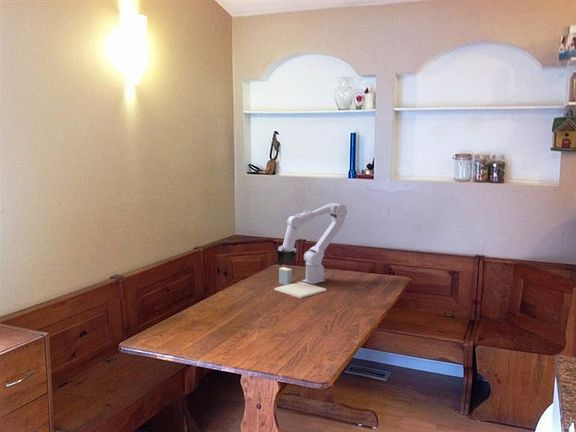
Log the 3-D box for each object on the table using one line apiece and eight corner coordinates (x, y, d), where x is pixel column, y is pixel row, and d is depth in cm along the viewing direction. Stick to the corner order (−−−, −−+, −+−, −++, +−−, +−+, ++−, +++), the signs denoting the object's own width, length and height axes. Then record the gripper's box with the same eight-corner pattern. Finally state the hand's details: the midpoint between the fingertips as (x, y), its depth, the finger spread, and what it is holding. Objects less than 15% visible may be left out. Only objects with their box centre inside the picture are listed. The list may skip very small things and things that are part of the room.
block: (283, 281, 274) (283, 267, 273) (291, 284, 270) (291, 269, 269) (279, 283, 272) (279, 268, 271) (287, 285, 268) (287, 270, 266)
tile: (300, 283, 271) (300, 281, 271) (326, 290, 259) (326, 288, 258) (274, 290, 259) (274, 288, 259) (300, 298, 246) (300, 296, 246)
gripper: (290, 238, 276) (284, 263, 276) (276, 236, 263) (269, 262, 264) (302, 241, 272) (295, 267, 272) (287, 239, 260) (281, 266, 260)
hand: (283, 265), depth 268 cm, fingers open, 7 cm apart
